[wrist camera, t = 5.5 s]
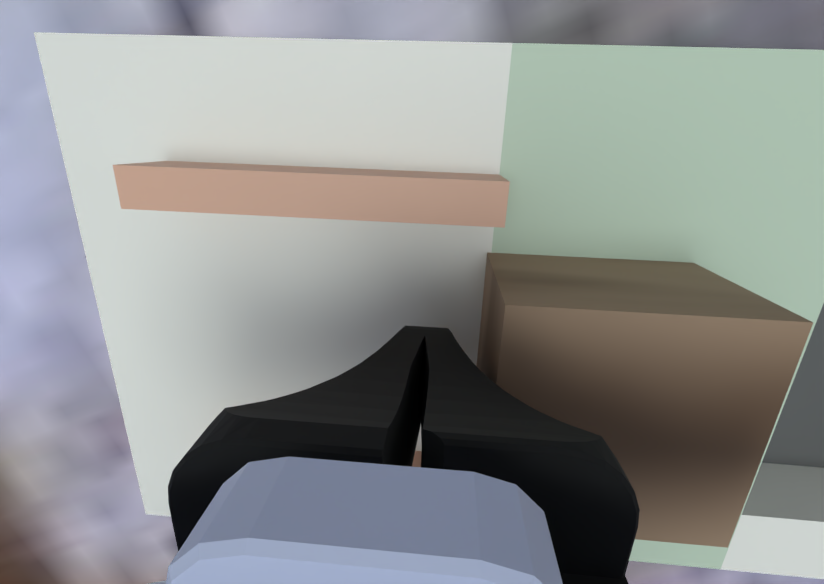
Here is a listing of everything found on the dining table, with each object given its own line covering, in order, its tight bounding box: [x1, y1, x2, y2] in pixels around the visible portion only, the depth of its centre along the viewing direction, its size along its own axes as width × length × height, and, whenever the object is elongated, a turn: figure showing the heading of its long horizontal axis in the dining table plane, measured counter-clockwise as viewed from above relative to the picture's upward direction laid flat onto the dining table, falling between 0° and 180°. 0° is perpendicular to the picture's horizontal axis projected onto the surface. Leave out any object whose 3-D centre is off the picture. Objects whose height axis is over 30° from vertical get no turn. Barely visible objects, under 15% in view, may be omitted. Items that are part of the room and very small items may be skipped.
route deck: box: [34, 32, 824, 579], centre depth 13 cm, size 16×28×5 cm, turn 88°
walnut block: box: [477, 252, 813, 548], centre depth 11 cm, size 6×6×4 cm
